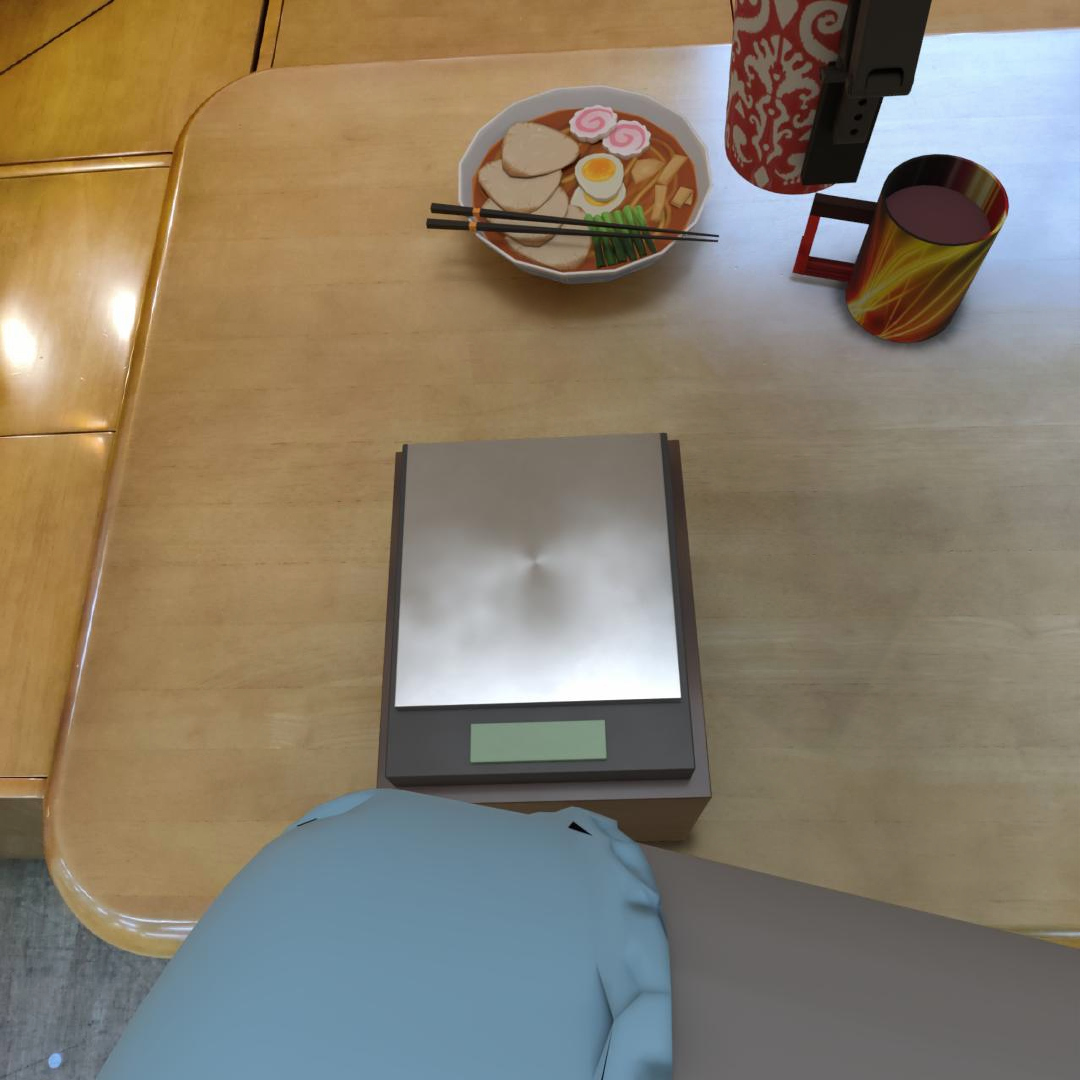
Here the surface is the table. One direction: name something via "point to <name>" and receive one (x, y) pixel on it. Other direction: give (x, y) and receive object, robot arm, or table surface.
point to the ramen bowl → (582, 183)
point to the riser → (631, 803)
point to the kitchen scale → (538, 615)
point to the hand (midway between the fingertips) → (812, 102)
